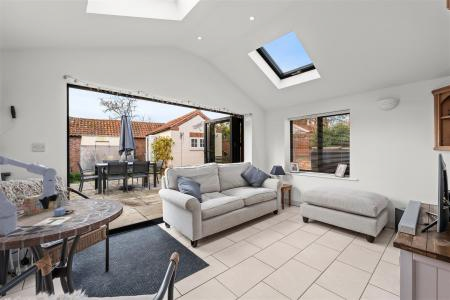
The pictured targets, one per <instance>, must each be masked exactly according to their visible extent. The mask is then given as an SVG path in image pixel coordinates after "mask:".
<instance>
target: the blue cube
mask: <svg viewBox="0 0 450 300" xmlns="http://www.w3.org/2000/svg"><path fill="white" fill-rule="evenodd" d="M66 210H67V209H66V207H63V208H60V207H58V208H57V209H54V210H53V211H54V212H53V216H54V217H57V216H58V217H59V216H61V217H63V215H65V214H66Z"/></svg>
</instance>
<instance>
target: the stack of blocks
mask: <svg viewBox="0 0 450 300" xmlns="http://www.w3.org/2000/svg"><path fill="white" fill-rule="evenodd" d="M42 194H43V193H40V194H36V195H35V194H34V195H32V196H28V197H23V202H22V203H23V215H24V216H33V215H37V214H40V213H43V212H45V211H42V204H41V202H40V201H39V199H38V196H40V195H42ZM58 195H59V196H58V198H57V200H56V201H57V208H60V207H62V195H61V194H58ZM47 198H48V197H47Z"/></svg>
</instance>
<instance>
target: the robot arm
mask: <svg viewBox="0 0 450 300" xmlns="http://www.w3.org/2000/svg"><path fill="white" fill-rule="evenodd" d="M0 165H1V166H3V165H4V166H5V165H10V166H13V167H18V168H22V169H26V171H27V172H28V173H31V174H35V175H38V176H39V175H40V176H42V177H43V179H42V193H41V194H42V195H40V194H39V195H40V196H38V199H39V201H40V202H41V204H42V206H43V209H48V207H49V201H56V200H57V198H58V196H59V195H60V194H59V190H56V175H57V170H56V169H55V168H52V167H49V166H48V165H46V166H45V165H42V164H40V163H39V162H32V163H27V162H23V161H21V160H18V159H15V158H12V157H7V156H2V155H0ZM47 197H48V198H47ZM17 212H18V207H17V205H15V204H14V203H12V202H11V201H10V200H9V198H8V197H7V195H5V193H4V191H3V190H2V189H1V188H0V235H8V234H10V233H12V232H14V231H16V230H17V231H18V230H19V229H21V228H22V227H21V226H18V213H17Z"/></svg>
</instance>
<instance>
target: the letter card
mask: <svg viewBox="0 0 450 300" xmlns="http://www.w3.org/2000/svg"><path fill="white" fill-rule="evenodd" d="M71 218H72V216H61V217H59V216H58V217H57V216H56V217H48V218H46V219H44V220H41V221H40V222H38V223H35V224H34V225H33V227H42V226H45V227H46V226H55V225H57V226H58V225H61V224H63V223H64V222H66V221H68V220H69V219H71Z"/></svg>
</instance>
